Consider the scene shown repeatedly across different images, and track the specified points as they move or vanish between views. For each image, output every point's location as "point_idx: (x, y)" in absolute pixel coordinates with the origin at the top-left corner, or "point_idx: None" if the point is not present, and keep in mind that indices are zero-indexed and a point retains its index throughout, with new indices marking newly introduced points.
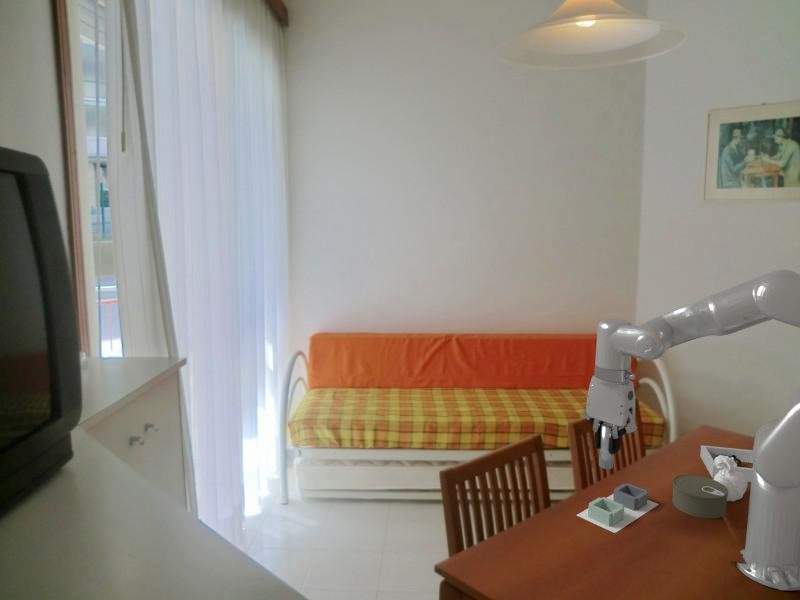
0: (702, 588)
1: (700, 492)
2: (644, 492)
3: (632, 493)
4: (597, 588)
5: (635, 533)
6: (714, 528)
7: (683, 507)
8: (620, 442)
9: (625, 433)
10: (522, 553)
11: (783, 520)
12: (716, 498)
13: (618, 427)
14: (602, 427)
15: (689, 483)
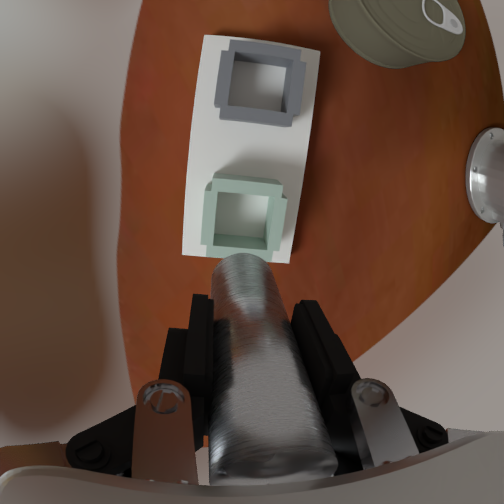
0: (431, 285)
1: (425, 27)
2: (297, 64)
3: (253, 58)
4: None
5: (313, 201)
6: (424, 75)
7: (381, 56)
8: (350, 362)
9: (411, 420)
10: None
11: None
12: (459, 51)
13: (365, 448)
14: None
15: None
